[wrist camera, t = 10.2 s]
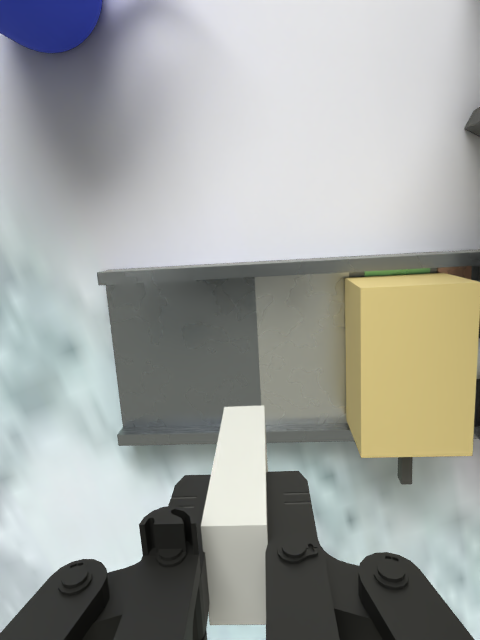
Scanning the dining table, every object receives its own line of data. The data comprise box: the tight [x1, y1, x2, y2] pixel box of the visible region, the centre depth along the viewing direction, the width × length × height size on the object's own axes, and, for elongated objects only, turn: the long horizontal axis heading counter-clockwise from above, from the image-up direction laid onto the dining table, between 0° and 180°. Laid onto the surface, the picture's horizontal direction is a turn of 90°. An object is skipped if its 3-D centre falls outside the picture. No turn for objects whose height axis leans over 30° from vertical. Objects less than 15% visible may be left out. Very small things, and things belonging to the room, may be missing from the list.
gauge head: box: [345, 273, 480, 484], centre depth 26 cm, size 7×12×5 cm, turn 3°
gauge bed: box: [97, 249, 480, 446], centre depth 29 cm, size 27×12×2 cm, turn 93°
